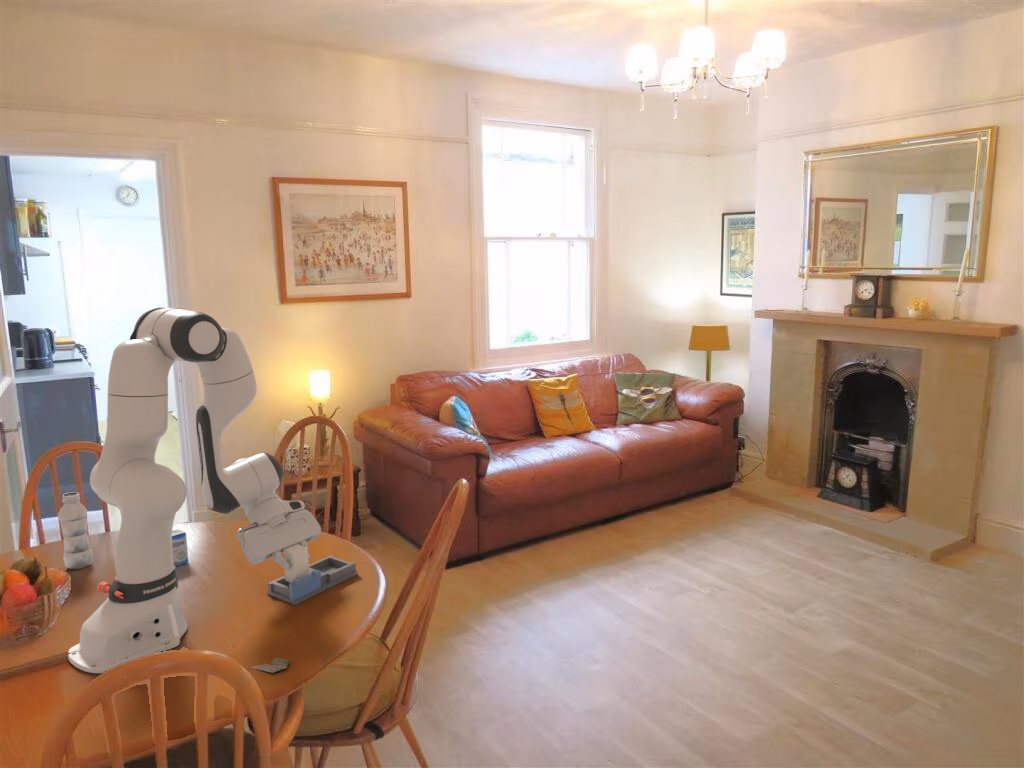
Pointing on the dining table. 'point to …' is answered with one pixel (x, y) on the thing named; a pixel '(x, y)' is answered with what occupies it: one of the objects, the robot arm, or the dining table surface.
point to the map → (273, 665)
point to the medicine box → (179, 547)
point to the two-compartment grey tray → (313, 580)
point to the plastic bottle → (74, 532)
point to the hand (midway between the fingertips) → (298, 564)
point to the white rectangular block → (296, 562)
